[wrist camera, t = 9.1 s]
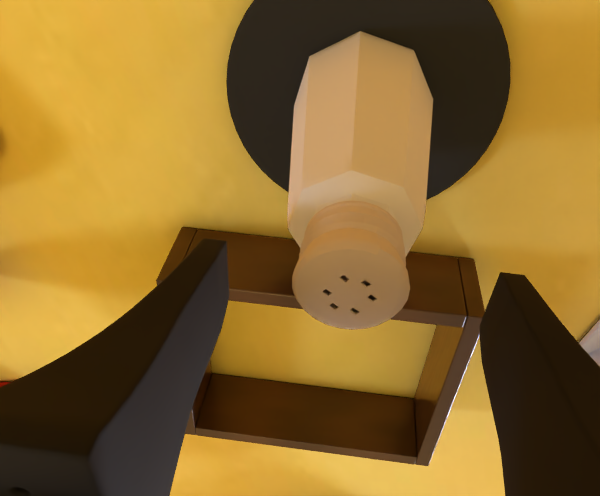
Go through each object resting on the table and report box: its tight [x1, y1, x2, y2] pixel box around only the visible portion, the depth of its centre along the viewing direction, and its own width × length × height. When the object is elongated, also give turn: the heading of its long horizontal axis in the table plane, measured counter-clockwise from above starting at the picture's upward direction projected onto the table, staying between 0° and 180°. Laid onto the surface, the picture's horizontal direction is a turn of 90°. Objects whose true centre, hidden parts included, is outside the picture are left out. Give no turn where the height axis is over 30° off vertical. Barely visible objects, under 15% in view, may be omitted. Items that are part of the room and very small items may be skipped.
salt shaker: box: [287, 31, 433, 329], centre depth 17 cm, size 5×5×11 cm
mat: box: [227, 0, 510, 200], centre depth 21 cm, size 11×11×1 cm
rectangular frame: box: [156, 227, 485, 466], centre depth 29 cm, size 15×13×4 cm
